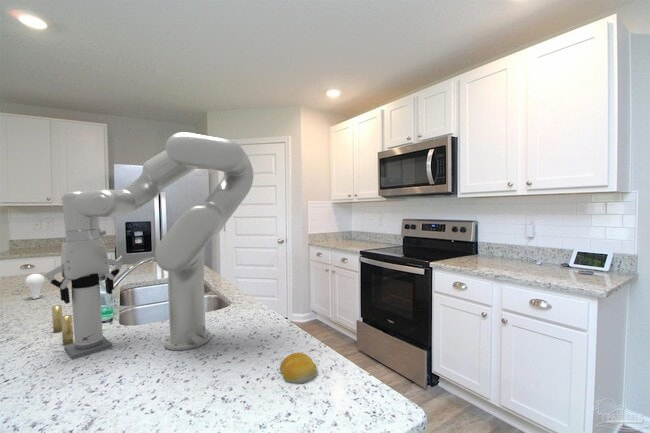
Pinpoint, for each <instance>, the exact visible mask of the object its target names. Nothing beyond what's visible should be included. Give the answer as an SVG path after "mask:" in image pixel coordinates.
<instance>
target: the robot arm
mask: <svg viewBox="0 0 650 433" xmlns="http://www.w3.org/2000/svg"><path fill="white" fill-rule="evenodd" d="M198 168H201V169H202V168H203V169H208V170H214V171H219V172H223V177H222V179H220V181H219V183H217V184H216V186H215V187H214V188H212V191H211V192H210V193H209V194H208V195H207V197H205V199H204V200H203V201H202V202H199V203H195V204H193V205H191V206H189V207H188V208H187V209H185V210H184V212H183V213H182V214H181V215H180V216H179V218H178V219H177V220H175V222H174V223H173V225H172V226H171V227H170V228H169V229H168V231H167V232H166V233H165V234H164V235H163V237H162V238H161V239H160V241H159V242H158V244H157V245H156V248H155V251H154V259H155V262H156V264H157V265H158V267H159V268H160V269H161V270H163V271H166V272H167V276H168V278H167V287H168V289H167V290H168V291H167V292H168V317H169V318H168V319H169V335H168V336H167V337H165V339H164V340H163V345H164V347H165V348H166V349H168V350H172V351H186V350H191V349H194V348H195V349H196V348H198V347H201V346H203V345H205V344H207V343H208V342H209V341H210V340H211V339H212V332H211V331H210V330H209V329H207V328H206V327H207V326H206V306H205V304H206V303H205V301H206V300H205V299H206V298H205V259H206V258H205V257H206V251H205V250H206V249H205V246H206V245H207V244H208V243H209V242H210V241H211V240H212V238H213V237H214V236H216V235H217V234H218V233H220V232H221V231H222V230H223V228H224V227H225V225H226V223H228V221H229V220H230V218H231V217H232V215H233V214H235V212H236V210H237V209H238V208H239V206H240V205H241V204H242V202H243V201H244V200H245V198H246V197H247V196H248V194H249V192H250V191H251V188H252V187H253V186H252V185H253V182H254V168H253V166H252V162H251V161H250V158H249V156H248V155H247V152H245V150H244V149H243V147H242V146H241V145H239V144H238V143H237V142H236V141H233V140H231V139H227V138H222V137H221V138H220V137H215V136H210V135H209V136H208V135H205V134H204V135H203V134H200V133H199V134H198V133H194V132H190V131H189V132H187V131H180V132H176V133H173V134H172V135H171V136H169V138H168V139H167V140H166V143H165V150H163V151H162V152H159V153H158V154H157V155H155V156H153V157H152V158H150V159H148V160H146V161H145V162H144V163H143V165H142V172H141V174H140V175H139V176H138V177H137V178H136V179H135V180H134V181H133V182H130V184H127V185H126V186H124V187H123V188H120V189H111V188H110V189H109V188H102V189H96V190H91V191H90V190H89V191H85V190H82V191H81V190H80V191H79V190H77V191H67V192H64V194H63V195H62V210H63V211H62V212H63V221H64V223H63V224H64V231H65V241H66V242H62V244H61V252H60V265H59V266H56V267H55V268H53V269H52V270H50V271H48V272H46V273H45V274H44V278H46V280H48V282H49V283H50V284H51V285H53V286H55V287H57V288H58V289H59V291H60V301H61V302H63V301H64V303H65V305H66V304H69V303H71V302H70V301H71V300H70V299H71V298H70V289H69V288H68V285H69V284H71V280H76V279H78V278H82V277H87V276H90V275H91V274H97V273H98V276H99V277H100V276H104V277H105V280H104V283H105V293H106V294H108V295H112V294H113V291H114V290H115V289H114V288H115V286H114V280H115V278H116V276H117V275H118V274H119V273H120V271H121V268H122V267H123V262H122V261H118V260H116V259H115V260H114V259H110V258H109V256H108V251H107V247H106V244H105V241H104V239H102V237H103V236H106V235H107V231H106V230H102V229H101V228H100V218H113V217H123V216H127V215H130V214H132V213H134V212H136V211H137V210H138V209H140V208H142V207H143V206H145V205H147V204H149V203H150V202H152V201H153V200H154V199H155V198H157V196H158V195H160V194H161V193H162V192H163V191H164V190H165V189H166V188H168V187H170V186H171V185H172V184H174V183H176V182H177V181H178V180H180V179H182V178H184V177H186V176H187V175H188V174H190V173H192V172H194V170H196V169H198ZM110 265H114V269H113V270H112V271H110ZM60 272H61V277H62V280H61V281H59V280H57V279H56V277H55V276H56V275H57V274H60Z"/></svg>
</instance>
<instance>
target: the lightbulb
mask: <svg viewBox="0 0 650 433" xmlns="http://www.w3.org/2000/svg"><path fill="white" fill-rule="evenodd" d="M24 283H25V285H26V287H27V288H28V290H29V292H30V294H31V298H32V299H33V300H36V299H35V298H38V299H39V298H41V290H42V287H43V285H44V283H45V276H43V274H41V273H32V274H29V275H28V276H27V277H25V280H24Z"/></svg>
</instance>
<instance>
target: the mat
mask: <svg viewBox="0 0 650 433" xmlns="http://www.w3.org/2000/svg"><path fill="white" fill-rule="evenodd" d="M102 336H103V342H102V343H101V344H99V345H97V346H95V347H92V348H88V349H76V348H75V342H73V343H72V344H69V345H63V346H64V351H65V352H66V353H67V356H69V357H70V359H71V360H74V359H78V358H82V357H84V356H89V355H91V354H92V355H93V354H95V353H98V352H101V351H104V350H107V349H111V348H113V343H112V342H111V341H110V340H109V339H108V338H107V337H106V336H105V335H104V334H103V335H102Z"/></svg>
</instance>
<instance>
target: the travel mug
mask: <svg viewBox="0 0 650 433" xmlns="http://www.w3.org/2000/svg"><path fill="white" fill-rule="evenodd" d="M70 284H71V303H72V304H71V305H72V323H73V340H74V343H75V348H76V349H88V348H92V347H95V346H97V345H99V344H101V343H102V342H103V336H104V334H103V320H102V319H103V317H102V304H101V303H102V302H101V299H102V298H101V286H100V285H101V284H100V275H99V276H98V273H97V274H91V275H90V276H87V277H82V278H78V279H76V280H71V282H70ZM102 335H103V336H102Z"/></svg>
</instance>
